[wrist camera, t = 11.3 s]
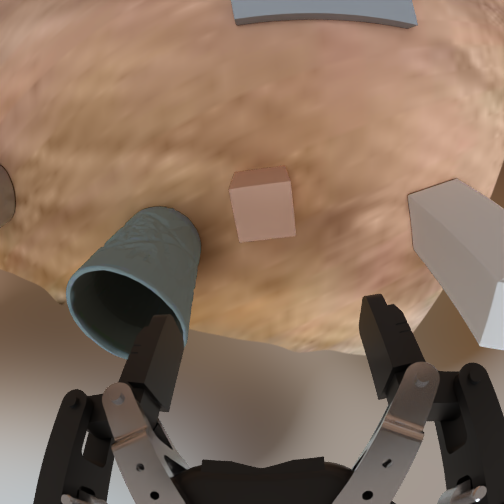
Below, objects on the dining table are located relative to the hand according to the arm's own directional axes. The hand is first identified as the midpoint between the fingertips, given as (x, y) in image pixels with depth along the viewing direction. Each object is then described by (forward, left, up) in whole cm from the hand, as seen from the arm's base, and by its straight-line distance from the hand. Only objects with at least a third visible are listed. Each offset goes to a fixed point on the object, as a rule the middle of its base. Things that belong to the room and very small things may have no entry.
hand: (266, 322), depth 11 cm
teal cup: (-11, -4, -17) cm, 20 cm away
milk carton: (+19, -4, -17) cm, 26 cm away
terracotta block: (0, 0, -17) cm, 17 cm away
